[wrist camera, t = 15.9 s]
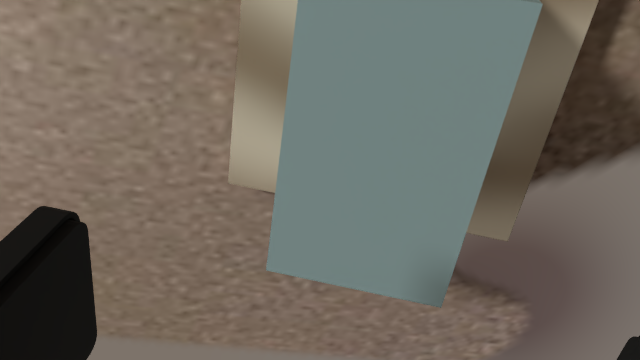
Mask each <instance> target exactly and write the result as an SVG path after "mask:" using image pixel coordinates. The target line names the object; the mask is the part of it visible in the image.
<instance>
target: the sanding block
mask: <svg viewBox="0 0 640 360" xmlns="http://www.w3.org/2000/svg"><path fill="white" fill-rule="evenodd" d="M542 5H543V4H542V3H541V1H540V0H298V4H297V12H296V21H295V29H294V38H293V46H292V55H291V63H290V72H289V80H288V89H287V97H286V106H285V114H284V123H283V131H282V140H281V148H280V157H279V165H278V174H277V182H276V191H275V199H274V208H273V216H272V225H271V233H270V242H269V250H268V259H267V267H266V270H267V271H272V272H277V273H281V274H286V275H291V276H295V277H300V278H305V279H309V280H314V281H319V282H323V283H328V284H333V285H337V286H342V287H347V288H351V289H356V290H361V291H366V292H370V293H375V294H380V295H384V296H389V297H394V298H398V299H403V300H408V301H412V302H417V303H422V304H426V305H431V306H436V307H440V308H441V306H442V303H443V300H444V297H445V294H446V291H447V288H448V285H449V282H450V279H451V277H452V274H453V271H454V268H455V265H456V262H457V259H458V256H459V253H460V249H461V247H462V244H463V241H464V238H465V234H466V232H467V229H468V226H469V223H470V220H471V217H472V214H473V211H474V208H475V205H476V202H477V199H478V196H479V193H480V190H481V187H482V184H483V181H484V178H485V175H486V172H487V169H488V166H489V163H490V160H491V157H492V154H493V151H494V148H495V145H496V142H497V139H498V136H499V133H500V130H501V127H502V124H503V121H504V118H505V115H506V112H507V109H508V106H509V104H510V101H511V98H512V95H513V92H514V89H515V86H516V83H517V80H518V77H519V74H520V71H521V68H522V65H523V62H524V59H525V56H526V53H527V50H528V47H529V44H530V41H531V38H532V35H533V32H534V29H535V26H536V23H537V20H538V17H539V14H540V11H541V8H542Z"/></svg>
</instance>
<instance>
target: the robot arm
mask: <svg viewBox="0 0 640 360" xmlns="http://www.w3.org/2000/svg"><path fill="white" fill-rule="evenodd" d="M96 337H97V327H96V316H95V304H94V293H93V282H92V271H91V260H90V248H89V237H88V228H87V225H86V224H85V223H83V222H80V219H79V216H78V215H77V213H75V212H71V211H66V210H61V209H57V208H52V207H47V206H41V207H39V208H37V209H36V210H34V211H33V212H32V213H31V214H30V215H29V216H28V217H27V218H26V219H25V220H23V221H22V222H21V223H20V224H19V225H18V226H17V227H16V228H15V229H14V230H12V231H11V232H10V233H9V234H8V235H7V236H6V237H5V238H4V239H3V240H1V241H0V360H86V359H87V358H88V356H89V355H90V353H91V351H92V349H93V347H94V345H95V342H96ZM617 360H640V336H639V337H632V338H630V339H629V340H628V342H627V343H626V345H625V347H624V348H623V350H622V352H621V353H620V355H619V357H618V358H617Z"/></svg>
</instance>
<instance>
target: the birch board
mask: <svg viewBox="0 0 640 360" xmlns="http://www.w3.org/2000/svg"><path fill="white" fill-rule="evenodd" d="M540 1H541V3H542V4H543V5H542V8H541V11H540V14H539V17H538V20H537V23H536V26H535V29H534V32H533V35H532V38H531V41H530V44H529V47H528V50H527V53H526V56H525V59H524V62H523V65H522V68H521V71H520V74H519V77H518V80H517V83H516V86H515V89H514V92H513V95H512V98H511V101H510V104H509V106H508V109H507V112H506V115H505V118H504V121H503V124H502V127H501V130H500V133H499V136H498V139H497V142H496V145H495V148H494V151H493V154H492V157H491V160H490V163H489V166H488V169H487V172H486V175H485V178H484V181H483V184H482V187H481V190H480V193H479V196H478V199H477V202H476V205H475V208H474V211H473V214H472V217H471V220H470V223H469V226H468V229H467V232H466V233H470V234H474V235H479V236H484V237H489V238H493V239H498V240H503V241H508V239H509V236H510V234H511V231H512V228H513V226H514V223H515V221H516V218H517V215H518V212H519V210H520V207H521V205H522V202H523V199H524V197H525V194H526V192H527V189H528V186H529V184H530V181H531V178H532V176H533V173H534V170H535V168H536V165H537V162H538V160H539V157H540V155H541V152H542V149H543V147H544V144H545V141H546V139H547V136H548V133H549V131H550V128H551V125H552V123H553V120H554V118H555V115H556V112H557V110H558V107H559V104H560V102H561V99H562V96H563V94H564V91H565V88H566V86H567V83H568V81H569V78H570V75H571V73H572V70H573V67H574V65H575V62H576V59H577V57H578V54H579V51H580V49H581V46H582V44H583V41H584V38H585V36H586V33H587V30H588V28H589V25H590V22H591V20H592V17H593V14H594V12H595V9H596V7H597V4H598V1H599V0H540ZM297 4H298V0H241V9H240V23H239V37H238V51H237V65H236V79H235V93H234V107H233V121H232V135H231V149H230V163H229V177H228V183H229V184H234V185H239V186H244V187H249V188H253V189H258V190H263V191H268V192H272V193H275V191H276V182H277V174H278V165H279V157H280V148H281V140H282V131H283V123H284V114H285V106H286V97H287V89H288V80H289V72H290V63H291V55H292V46H293V38H294V29H295V21H296V12H297Z"/></svg>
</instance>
